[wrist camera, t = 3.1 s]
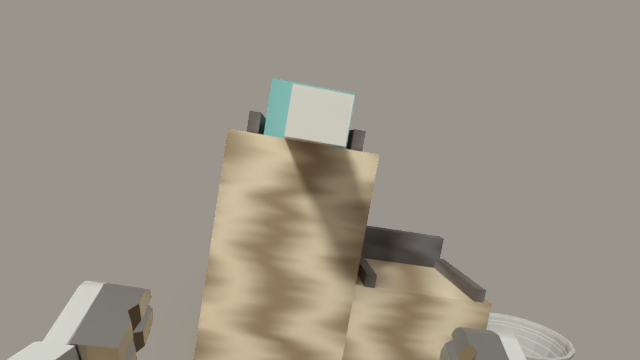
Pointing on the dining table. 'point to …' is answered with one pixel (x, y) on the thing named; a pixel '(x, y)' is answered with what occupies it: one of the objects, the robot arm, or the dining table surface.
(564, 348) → the plastic cup
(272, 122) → the plug
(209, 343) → the zigzag stepped block
